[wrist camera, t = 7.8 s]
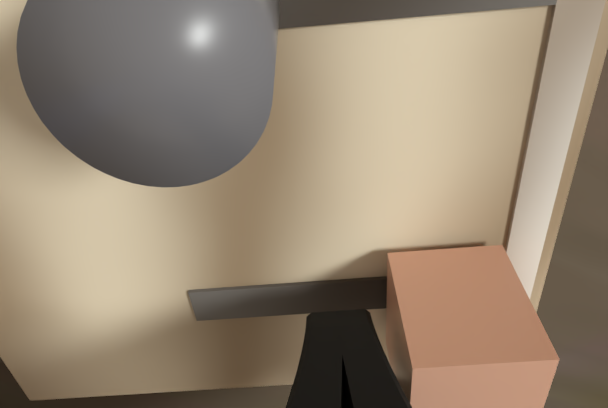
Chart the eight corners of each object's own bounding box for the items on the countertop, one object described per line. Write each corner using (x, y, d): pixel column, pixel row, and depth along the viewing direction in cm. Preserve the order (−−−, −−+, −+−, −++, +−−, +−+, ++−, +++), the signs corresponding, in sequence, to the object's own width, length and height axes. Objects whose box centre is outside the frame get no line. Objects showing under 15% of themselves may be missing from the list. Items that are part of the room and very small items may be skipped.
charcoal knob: (129, 97, 9) (69, 195, 7) (76, -83, 7) (-32, -39, 5) (287, 84, 9) (285, 178, 7) (268, -102, 7) (254, -67, 5)
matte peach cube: (385, 341, 13) (406, 458, 11) (387, 253, 11) (412, 369, 9) (485, 334, 13) (529, 451, 11) (502, 244, 11) (559, 359, 9)
